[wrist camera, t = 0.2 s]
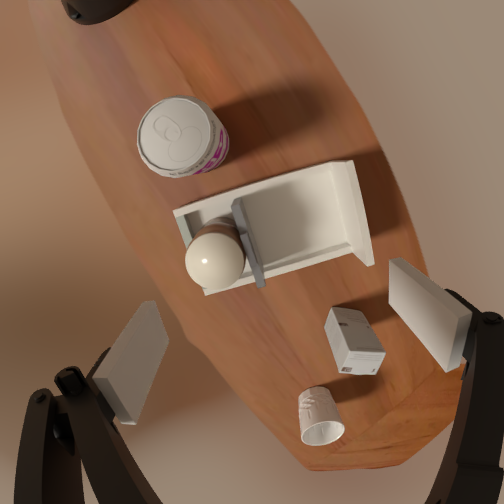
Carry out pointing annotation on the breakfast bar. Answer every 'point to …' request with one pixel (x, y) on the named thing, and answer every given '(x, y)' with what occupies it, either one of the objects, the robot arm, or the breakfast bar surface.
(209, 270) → the jar
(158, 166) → the supplement can
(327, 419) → the white cup
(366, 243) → the lane
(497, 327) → the robot arm
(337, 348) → the skincare box
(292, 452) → the breakfast bar surface
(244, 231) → the pusher
